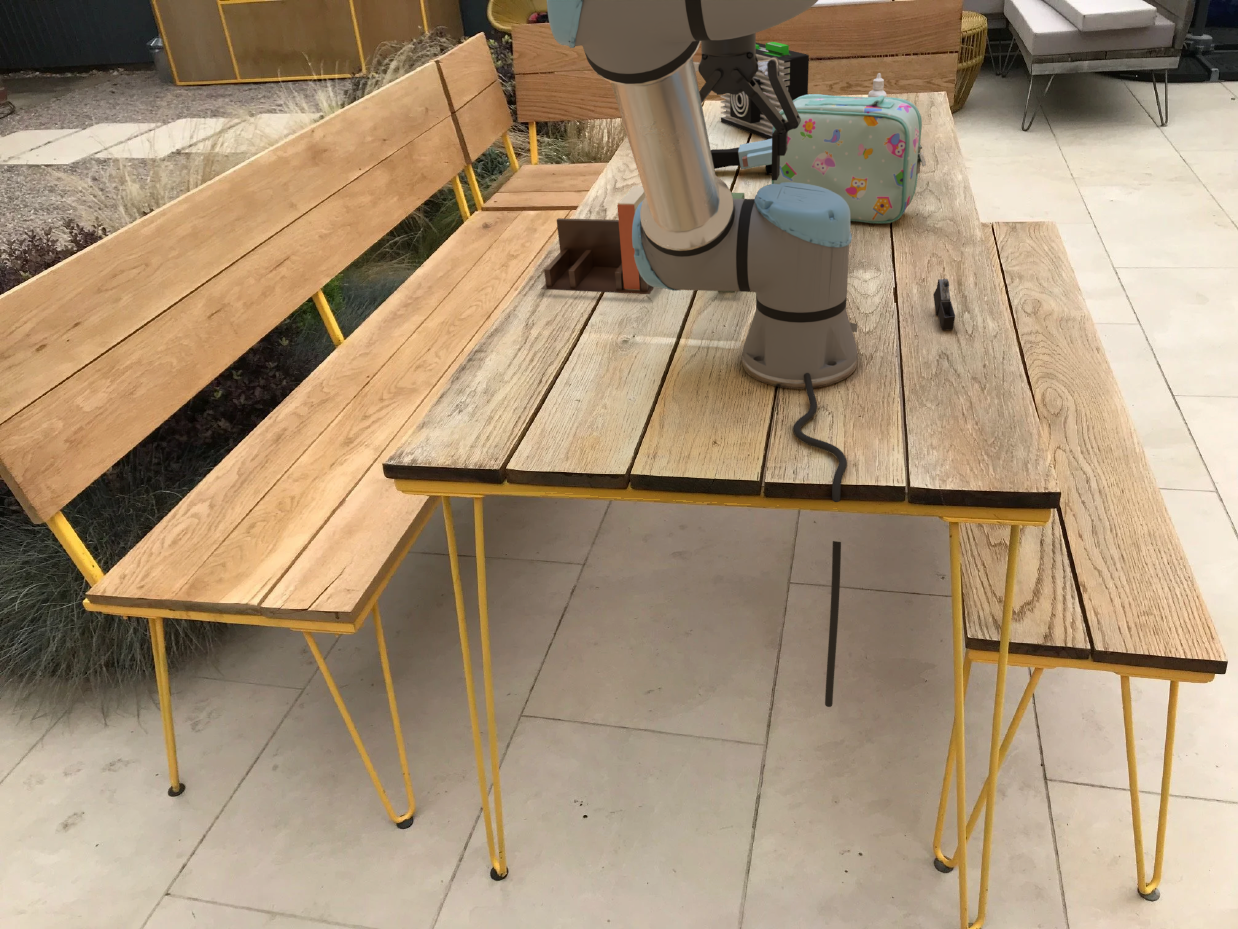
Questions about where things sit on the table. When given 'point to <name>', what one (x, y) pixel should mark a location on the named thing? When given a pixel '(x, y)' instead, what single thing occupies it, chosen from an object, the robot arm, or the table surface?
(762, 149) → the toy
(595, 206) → the table surface
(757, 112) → the electronic device
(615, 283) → the book rack
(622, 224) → the cream book
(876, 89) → the eye dropper bottle
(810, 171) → the lunch box
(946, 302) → the black narrow holder
